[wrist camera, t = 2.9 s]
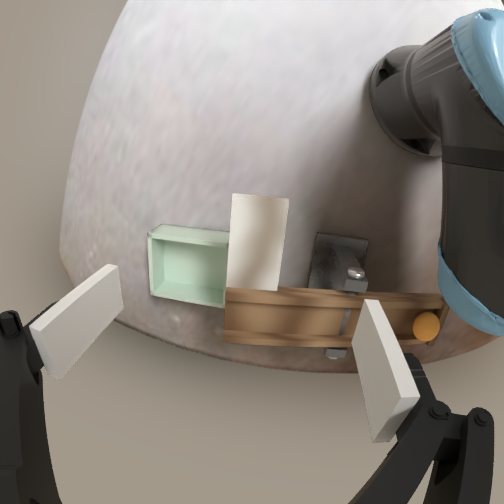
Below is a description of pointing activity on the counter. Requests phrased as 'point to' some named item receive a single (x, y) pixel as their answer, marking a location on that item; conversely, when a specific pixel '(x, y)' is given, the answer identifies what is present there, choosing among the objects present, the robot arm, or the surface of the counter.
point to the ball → (426, 326)
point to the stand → (338, 270)
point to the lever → (298, 290)
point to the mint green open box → (188, 264)
